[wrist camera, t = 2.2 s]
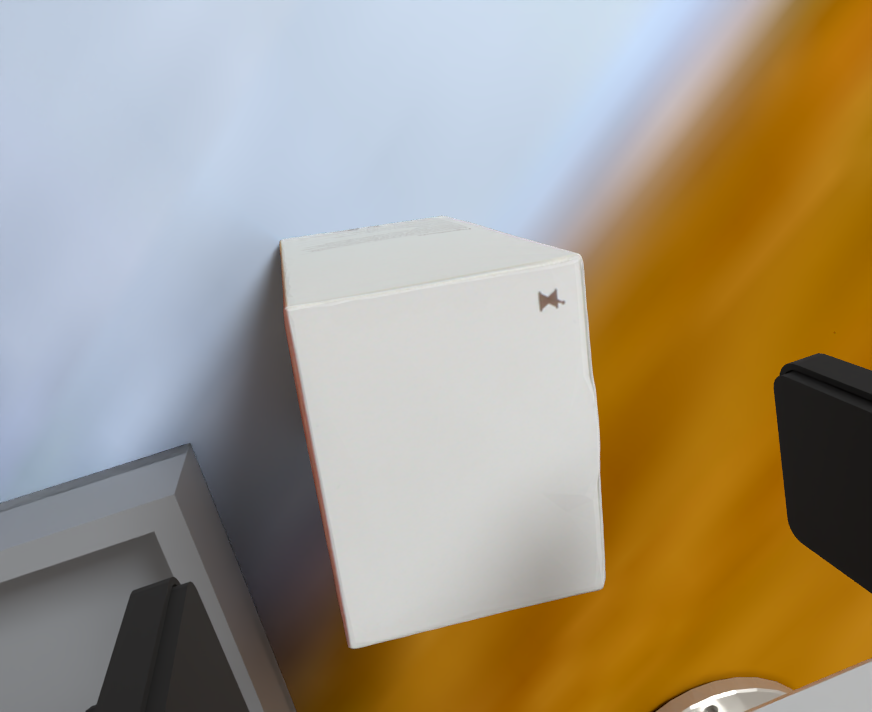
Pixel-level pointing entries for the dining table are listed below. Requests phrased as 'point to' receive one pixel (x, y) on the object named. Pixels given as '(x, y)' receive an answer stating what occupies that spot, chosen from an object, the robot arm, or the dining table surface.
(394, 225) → the small box
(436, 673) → the dining table surface
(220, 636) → the tray
